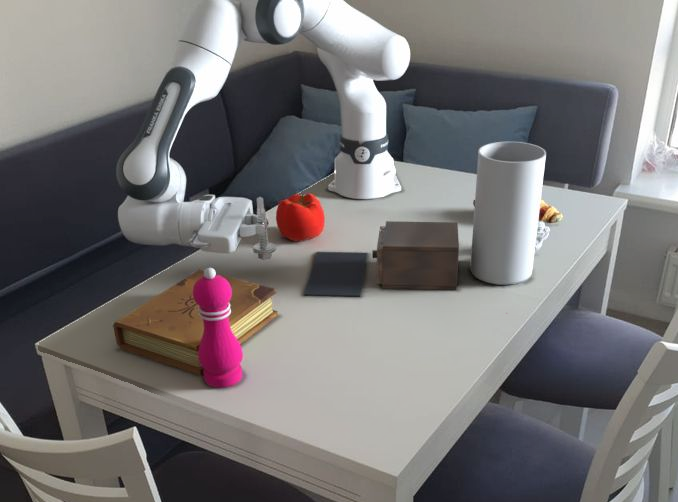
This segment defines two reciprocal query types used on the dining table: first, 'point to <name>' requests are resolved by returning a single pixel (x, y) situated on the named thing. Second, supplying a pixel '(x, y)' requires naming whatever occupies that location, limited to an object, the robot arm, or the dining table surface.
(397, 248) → the cabinet
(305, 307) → the dining table surface
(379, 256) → the drawer
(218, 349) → the pepper mill
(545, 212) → the croissant
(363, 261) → the mat
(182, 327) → the diary
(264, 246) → the screw
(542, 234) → the frog figurine
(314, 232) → the tomato
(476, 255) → the cylinder vase
